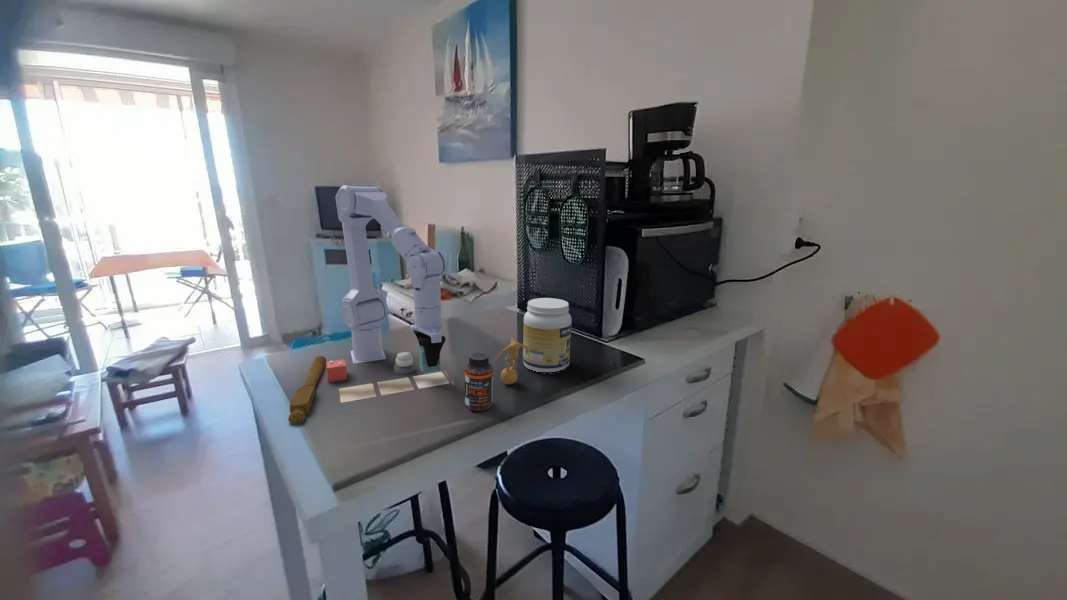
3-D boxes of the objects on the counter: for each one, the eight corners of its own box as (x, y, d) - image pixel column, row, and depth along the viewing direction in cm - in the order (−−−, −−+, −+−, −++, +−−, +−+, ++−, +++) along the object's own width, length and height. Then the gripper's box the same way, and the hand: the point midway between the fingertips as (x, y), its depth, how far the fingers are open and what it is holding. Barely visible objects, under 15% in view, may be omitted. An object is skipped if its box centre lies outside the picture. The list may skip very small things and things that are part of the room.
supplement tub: (566, 377, 104) (569, 310, 100) (517, 372, 107) (518, 306, 102) (571, 358, 116) (575, 298, 112) (528, 354, 118) (529, 294, 114)
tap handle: (326, 354, 108) (303, 412, 80) (327, 365, 109) (305, 427, 81) (313, 355, 107) (285, 415, 79) (314, 367, 108) (287, 429, 80)
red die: (327, 377, 101) (326, 360, 100) (346, 374, 103) (344, 357, 102) (328, 384, 98) (326, 366, 97) (347, 381, 99) (345, 363, 98)
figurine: (520, 377, 104) (521, 330, 101) (532, 387, 99) (534, 338, 96) (489, 383, 100) (489, 335, 97) (500, 394, 95) (500, 343, 92)
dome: (394, 361, 105) (393, 352, 105) (411, 359, 107) (410, 350, 107) (397, 367, 102) (396, 358, 101) (414, 365, 104) (413, 356, 103)
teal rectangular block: (436, 363, 102) (435, 344, 101) (440, 370, 98) (439, 349, 97) (419, 366, 100) (418, 346, 99) (422, 373, 97) (421, 352, 95)
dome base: (392, 369, 106) (392, 363, 106) (413, 366, 108) (412, 360, 108) (396, 377, 102) (395, 370, 101) (417, 374, 104) (416, 367, 104)
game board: (333, 389, 96) (333, 386, 95) (444, 370, 107) (444, 368, 106) (336, 409, 87) (335, 407, 87) (455, 387, 98) (455, 385, 98)
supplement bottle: (466, 414, 87) (465, 362, 84) (462, 400, 92) (461, 351, 89) (495, 410, 88) (495, 359, 85) (490, 397, 94) (490, 349, 91)
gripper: (403, 299, 100) (406, 353, 103) (416, 316, 87) (419, 377, 91) (433, 296, 103) (435, 349, 107) (450, 312, 91) (451, 371, 94)
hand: (430, 362), depth 99 cm, fingers closed on teal rectangular block, 4 cm apart
